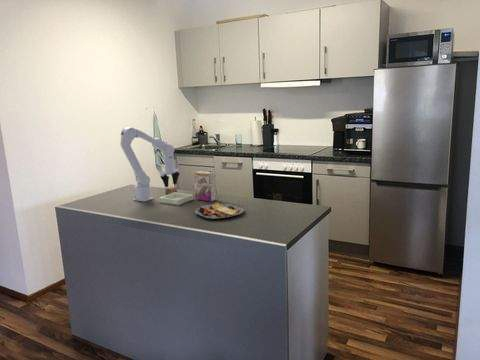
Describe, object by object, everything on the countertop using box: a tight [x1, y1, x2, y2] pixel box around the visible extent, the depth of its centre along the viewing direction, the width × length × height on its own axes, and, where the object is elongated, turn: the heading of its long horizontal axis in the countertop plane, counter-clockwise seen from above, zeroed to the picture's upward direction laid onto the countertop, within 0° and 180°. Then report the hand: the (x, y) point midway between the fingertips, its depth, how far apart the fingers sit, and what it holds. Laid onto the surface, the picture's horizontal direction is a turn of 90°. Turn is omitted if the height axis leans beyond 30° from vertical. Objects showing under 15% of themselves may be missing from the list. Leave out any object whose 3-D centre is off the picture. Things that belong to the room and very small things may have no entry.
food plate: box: [194, 201, 245, 220], centre depth 205 cm, size 25×23×4 cm
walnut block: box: [164, 186, 178, 195], centre depth 246 cm, size 5×5×5 cm
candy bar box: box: [194, 170, 217, 202], centre depth 232 cm, size 11×5×16 cm, turn 58°
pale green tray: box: [158, 191, 194, 206], centre depth 232 cm, size 14×14×3 cm
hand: (170, 185), depth 245 cm, fingers open, 7 cm apart
